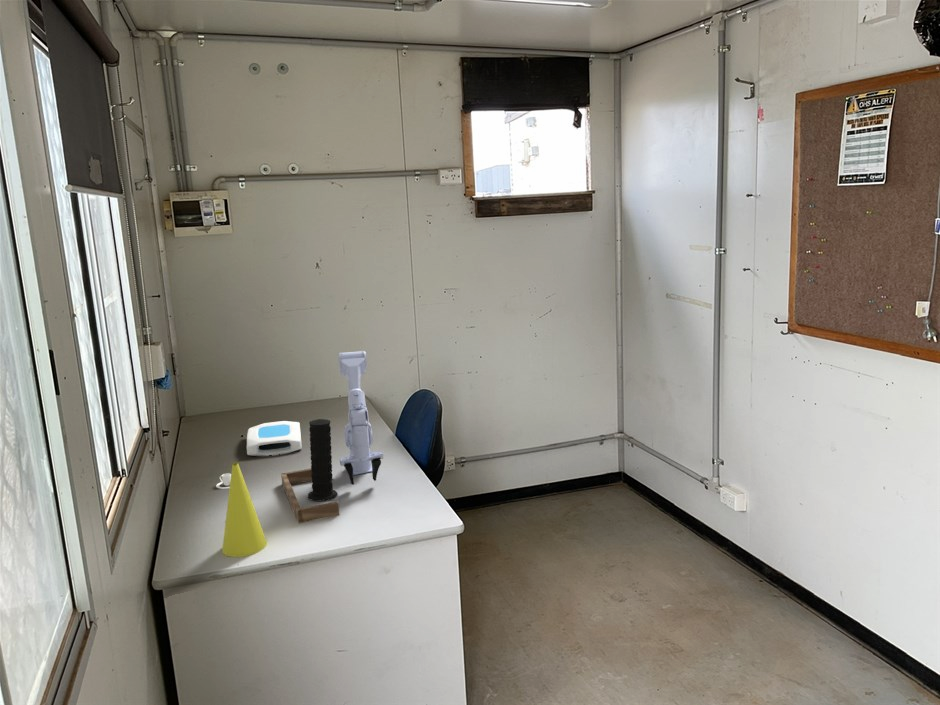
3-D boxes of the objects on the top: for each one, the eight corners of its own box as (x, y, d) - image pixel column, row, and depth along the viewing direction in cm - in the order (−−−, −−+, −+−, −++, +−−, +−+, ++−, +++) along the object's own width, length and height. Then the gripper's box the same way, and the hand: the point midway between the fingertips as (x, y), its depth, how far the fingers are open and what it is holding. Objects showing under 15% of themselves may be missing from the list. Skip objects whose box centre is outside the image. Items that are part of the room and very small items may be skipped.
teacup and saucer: (246, 483, 256) (244, 472, 255) (228, 491, 249) (226, 480, 248) (229, 480, 260) (227, 469, 259) (211, 487, 254) (209, 476, 253)
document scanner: (300, 432, 313) (299, 418, 312) (302, 452, 287) (300, 437, 285) (250, 438, 308) (248, 424, 307) (247, 459, 282) (245, 444, 280)
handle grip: (306, 491, 243) (308, 502, 234) (303, 416, 238) (304, 424, 229) (336, 488, 246) (339, 499, 236) (333, 414, 241) (336, 421, 232)
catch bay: (282, 484, 252) (281, 473, 252) (318, 477, 257) (317, 467, 256) (298, 523, 219) (296, 510, 219) (339, 514, 224) (338, 502, 223)
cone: (271, 535, 211) (262, 455, 207) (260, 555, 199) (251, 470, 195) (229, 538, 211) (219, 457, 206) (216, 558, 199) (205, 473, 194)
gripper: (341, 450, 236) (344, 489, 238) (384, 443, 241) (387, 481, 243) (337, 444, 242) (340, 482, 245) (379, 437, 247) (381, 475, 250)
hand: (363, 481), depth 244 cm, fingers open, 7 cm apart
